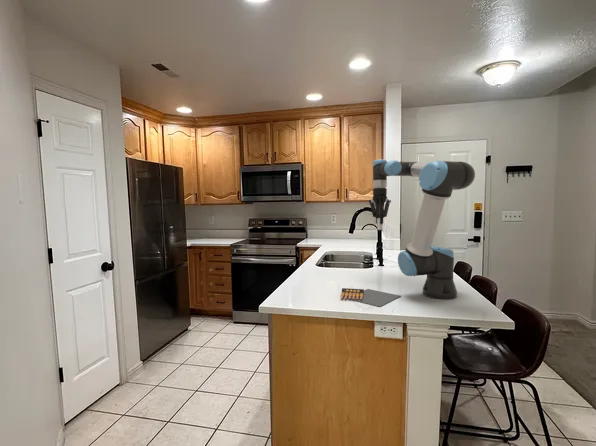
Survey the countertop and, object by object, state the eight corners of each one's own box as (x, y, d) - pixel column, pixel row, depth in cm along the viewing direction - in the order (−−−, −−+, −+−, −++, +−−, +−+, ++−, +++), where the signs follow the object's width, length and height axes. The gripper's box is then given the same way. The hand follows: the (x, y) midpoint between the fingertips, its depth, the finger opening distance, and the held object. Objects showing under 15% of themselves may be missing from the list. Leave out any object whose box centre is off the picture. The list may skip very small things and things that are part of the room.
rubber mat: (400, 296, 149) (401, 295, 149) (380, 307, 134) (380, 306, 134) (367, 289, 161) (367, 288, 161) (345, 298, 147) (345, 297, 147)
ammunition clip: (363, 289, 153) (363, 297, 141) (363, 292, 153) (363, 301, 142) (342, 288, 155) (339, 296, 144) (342, 291, 156) (339, 300, 144)
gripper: (393, 187, 173) (393, 229, 175) (372, 188, 182) (372, 228, 184) (387, 187, 168) (387, 230, 169) (366, 188, 177) (366, 229, 178)
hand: (379, 229), depth 177 cm, fingers closed
